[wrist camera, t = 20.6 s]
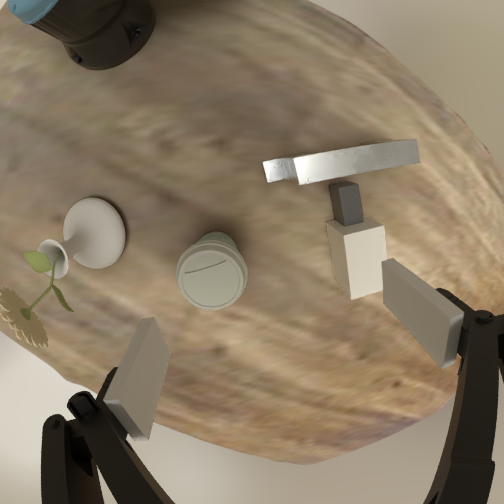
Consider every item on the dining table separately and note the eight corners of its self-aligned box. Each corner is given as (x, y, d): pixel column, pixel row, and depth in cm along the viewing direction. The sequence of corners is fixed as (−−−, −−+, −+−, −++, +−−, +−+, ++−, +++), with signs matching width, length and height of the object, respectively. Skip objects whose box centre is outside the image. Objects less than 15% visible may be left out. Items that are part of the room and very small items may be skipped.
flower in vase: (60, 209, 41) (-49, 257, 17) (115, 185, 40) (5, 221, 17) (87, 280, 45) (4, 367, 21) (142, 264, 45) (69, 361, 21)
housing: (262, 162, 41) (271, 162, 30) (389, 139, 40) (430, 137, 30) (267, 182, 42) (277, 190, 31) (393, 157, 41) (434, 160, 31)
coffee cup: (251, 229, 44) (257, 255, 32) (237, 281, 46) (238, 321, 35) (195, 215, 43) (180, 236, 31) (183, 268, 45) (168, 305, 34)
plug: (319, 186, 42) (336, 193, 35) (355, 179, 42) (378, 184, 35) (334, 280, 47) (351, 303, 40) (367, 271, 47) (388, 291, 39)
